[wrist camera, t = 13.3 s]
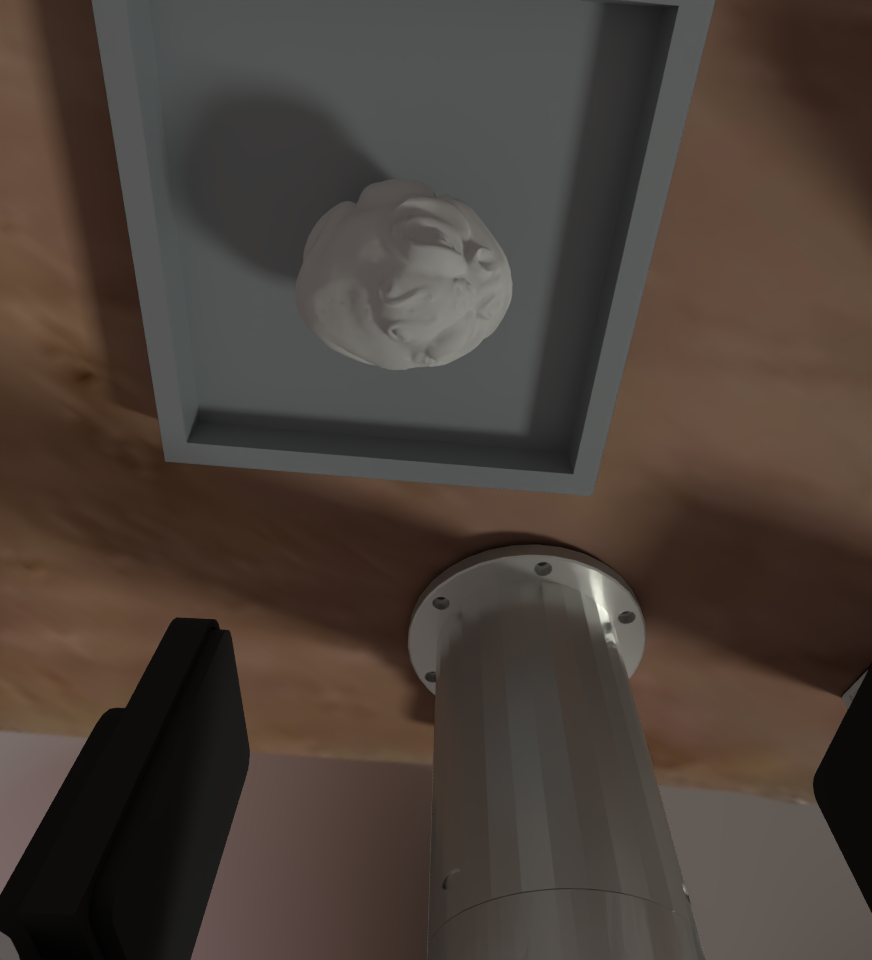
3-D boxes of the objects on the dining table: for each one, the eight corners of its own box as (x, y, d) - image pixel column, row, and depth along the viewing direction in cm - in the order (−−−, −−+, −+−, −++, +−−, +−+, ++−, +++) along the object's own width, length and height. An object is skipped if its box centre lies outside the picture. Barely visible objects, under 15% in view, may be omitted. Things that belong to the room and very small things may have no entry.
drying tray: (582, 461, 31) (592, 496, 29) (187, 429, 31) (165, 461, 28) (694, -26, 21) (724, -35, 19) (118, -83, 21) (75, -99, 18)
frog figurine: (513, 313, 26) (529, 389, 20) (340, 346, 27) (308, 428, 21) (487, 142, 23) (498, 175, 17) (292, 186, 24) (239, 232, 18)
